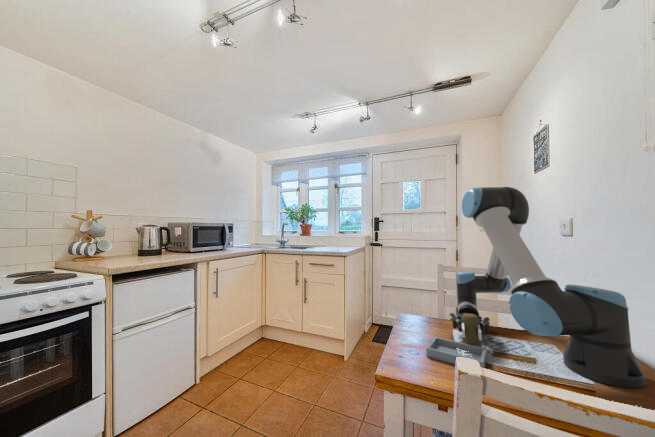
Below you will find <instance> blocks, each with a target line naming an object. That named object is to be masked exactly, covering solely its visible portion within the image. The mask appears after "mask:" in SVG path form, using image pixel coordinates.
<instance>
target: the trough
mask: <svg viewBox="0 0 655 437" xmlns="http://www.w3.org/2000/svg"><path fill="white" fill-rule="evenodd" d="M456 348H459V349H462V350H465V351H467V352H464V353H465V354H472V355H466V357H465V355H464V356H462V355H461V356H460V355H459V354H458V351H457V349H456ZM425 349H426V357H427V358H431V359H434V360H437V361H442V362H445V363H450V364H453V365H456V364H455V360H456V357H465V358H470V359H474V360H477V361H478V362H479V363H480V365H481V366H482V367H483V368H486V364H485V362H486V363H487V360H486V358H487V359H488V351H487V348H485V347H483V346H482V347H478V346H474V345H469V344H465V343H462V342H459V341H455V340H452V339H451V340H450V339H446V338H443V337H438V336H434V337H433V338H432V340H431V342H429V344H427V347H426V348H425ZM468 351H469V352H468ZM460 354H461V353H460ZM471 356H472V357H471Z"/></svg>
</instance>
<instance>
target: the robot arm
mask: <svg viewBox="0 0 655 437" xmlns="http://www.w3.org/2000/svg"><path fill="white" fill-rule="evenodd" d="M461 211H462V214H463V216H465V218H468V219H470V218H472V219H473V221H474V222H475V224H476V225H477V226H479V227H482V228H483V230H484V232H485V234H486V236H487V238H488V240H489V241H490V243H491V245H492V250H491V254H490V257H489V261H488V266H487V270H486V273H485V275H476V274H475V272H473V271H467V270H466V271H465V270H463V271H457V272H456V278H455V283H456V292H457V293H456V296H457V299H456V300H457V314H454V313H452V312H451V313H449V316H450V321H451V322H452V328H453V329H457V330H458V332H459V333H460V332H461V334H462V339H463V338H465V328H464V323H463V321H462V315H463V314H466V313H470V314H474V315H476V316H477V317H478V318H479V324H478V325H477V327H478V337H479V340H481V341H483V338H482V336H485V335H486V334H485V333H487V334H489V333H490V331H491V330H490V325H491V324H490V322H491V321H490V317H483V318H482V316H481V315H480V313H479V310H478V304H477V303H478V302H477V294H485V293H487V294H490V293H493V294H494V293H495V294H496V293H497V294H499V293H507V292H509V291H510V293H511V295H510V297H509V300H508V304H509V311H510V313H511V316H512V317H513V319H514V320H515V321H516V323H517V324H518V326H520V327H521V328H522V329H523V330H525V331H527V332H529V333H530V334H532V335H536V336H540V337H541V336H545V337H551V338H552V337H553V338H554V337H558V336H569V337H568V339H567V340H568V341H567V343H566V344H565V345H566V346H565V348H564V351H563V354H562V356H563V364H564V366H566V367H567V368H568V369H570V370H571V371H573V372H575V373H576V374H578V375H580V376H582V377H585V378H587V379H590V380H594V381H596V382H599V383H602V384H606V385H609V386H615V387H618V388H619V387H620V388H629V389H640V388H644V387H645V386H646V385H647V382H646V375H645V372H644V370H643V368H642V367H641V364H640V363H639V361H638V359H637V358H636V356H635V354H634V352H633V350H632V341H631V331H630V321H629V320H630V319H629V318H630V317H629V306H628V303H627V300H626V297H625V296H624V295H623V294H622V293H620V292H617V291H614V290H609V289H605V288H598V287H592V286H587V285H586V286H585V285H577V284H566V285H565V286H564V290H562V288H561V287H560V285H559V284H558V282H557V281H556V280H555V279H552V278H549V277H547V276H546V275H545V273H544V271H543V270H542V269H541V267H540V265H539V264H538V262H537V261H536V259H535V257H534V256H533V254H532V253H531V251H530V249H529V248H528V246H527V245H526V243H525V242H524V240H523V239H522V237H521V235H520V234H521V231H522V227H523V226H524V225H526V224H527V223H528V220H529V214H530V206H529V201H528V199H527V197H526V196H525V194H524V193H523V192H522V191H520V190H519V189H517V188H515V187H510V186H499V187H498V186H497V187H495V186H494V187H493V186H492V187H491V186H490V187H489V186H488V187H480V186H479V187H471V188H469V189H468V190H467V191H465V193H464V195H463V197H462V199H461ZM511 283H512V285H511ZM457 320H458V321H457Z"/></svg>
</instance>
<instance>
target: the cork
mask: <svg viewBox="0 0 655 437" xmlns="http://www.w3.org/2000/svg"><path fill="white" fill-rule="evenodd" d="M462 321H463V323H464V328H465V338H463V337H462V341H461V343H465V344H469V345H474V346H478V347H483V345H482V342H481V341H482V340H479V337H478V327H477V325H478V324H479V318H478V317H477V316H476V315H474V314H470V313H466V314H463V315H462Z"/></svg>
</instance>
